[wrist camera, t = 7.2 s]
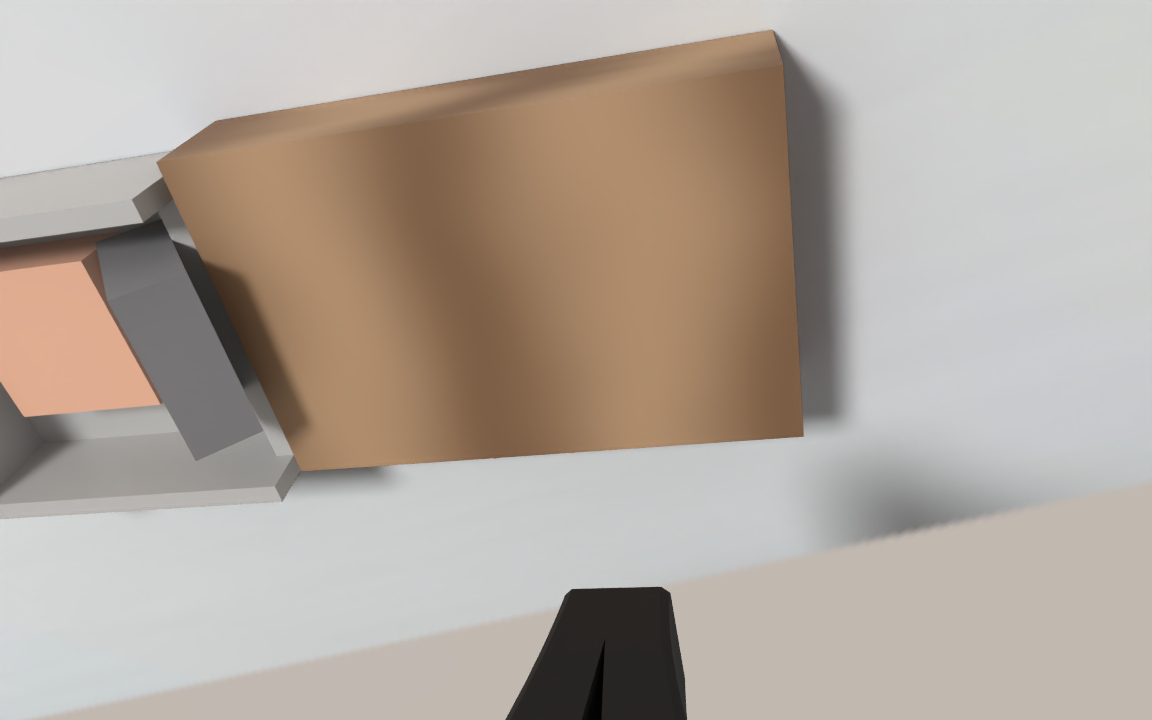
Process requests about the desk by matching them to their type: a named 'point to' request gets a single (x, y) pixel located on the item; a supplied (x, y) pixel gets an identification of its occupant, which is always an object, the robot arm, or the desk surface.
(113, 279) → the tile charcoal
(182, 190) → the walnut board
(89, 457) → the tray
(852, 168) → the desk surface
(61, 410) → the tile terracotta
